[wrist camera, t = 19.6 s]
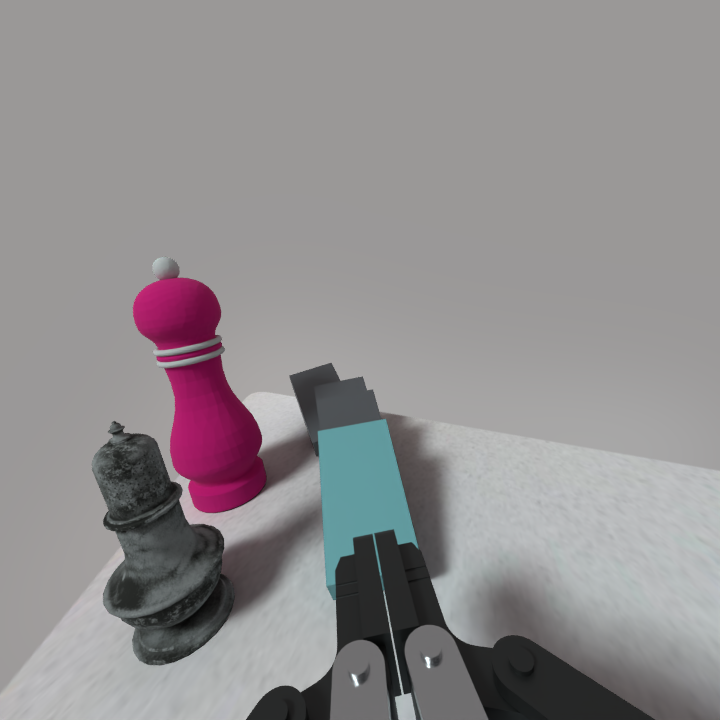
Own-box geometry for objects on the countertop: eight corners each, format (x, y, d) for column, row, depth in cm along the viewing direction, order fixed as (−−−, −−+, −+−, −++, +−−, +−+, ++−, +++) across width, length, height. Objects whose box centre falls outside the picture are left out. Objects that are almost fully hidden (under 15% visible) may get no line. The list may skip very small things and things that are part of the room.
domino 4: (423, 567, 18) (385, 418, 26) (326, 585, 18) (317, 431, 26) (423, 582, 20) (387, 437, 27) (333, 599, 19) (323, 449, 27)
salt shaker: (243, 558, 23) (191, 388, 20) (234, 645, 18) (161, 431, 15) (147, 588, 22) (76, 414, 19) (106, 691, 17) (-3, 470, 14)
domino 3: (402, 493, 24) (372, 389, 31) (328, 508, 23) (316, 399, 31) (402, 509, 25) (374, 406, 33) (333, 523, 25) (320, 416, 32)
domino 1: (362, 424, 34) (331, 362, 41) (312, 442, 33) (289, 375, 40) (364, 438, 36) (333, 376, 43) (316, 456, 34) (293, 389, 42)
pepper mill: (192, 481, 34) (122, 267, 29) (268, 458, 36) (216, 253, 31) (181, 530, 27) (87, 262, 22) (276, 498, 29) (210, 245, 24)
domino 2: (388, 459, 28) (362, 376, 36) (326, 473, 28) (313, 386, 36) (388, 474, 30) (364, 391, 37) (330, 487, 29) (317, 401, 37)
